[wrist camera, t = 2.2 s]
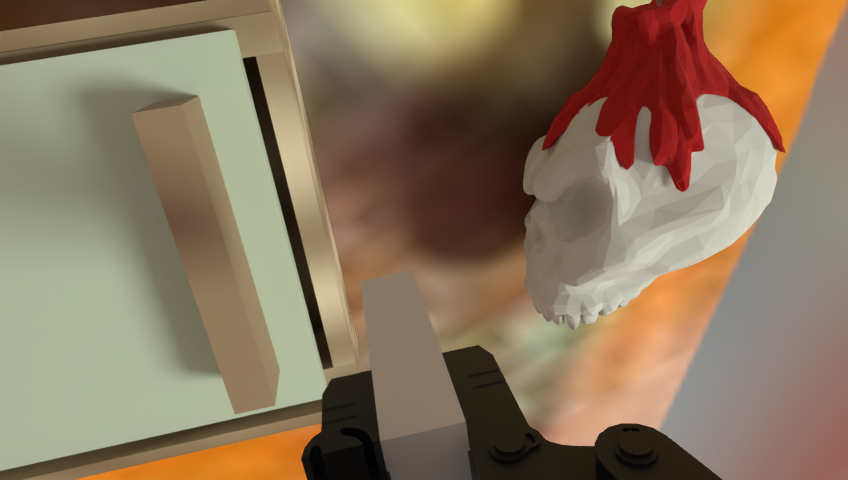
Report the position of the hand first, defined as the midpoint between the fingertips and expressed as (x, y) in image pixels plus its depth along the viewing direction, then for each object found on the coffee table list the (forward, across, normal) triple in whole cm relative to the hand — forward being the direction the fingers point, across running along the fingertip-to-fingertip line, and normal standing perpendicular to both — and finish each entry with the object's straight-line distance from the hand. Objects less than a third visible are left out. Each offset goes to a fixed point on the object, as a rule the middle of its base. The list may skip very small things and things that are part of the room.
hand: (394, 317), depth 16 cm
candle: (+14, +13, 0) cm, 19 cm away
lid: (+8, -12, 0) cm, 14 cm away
